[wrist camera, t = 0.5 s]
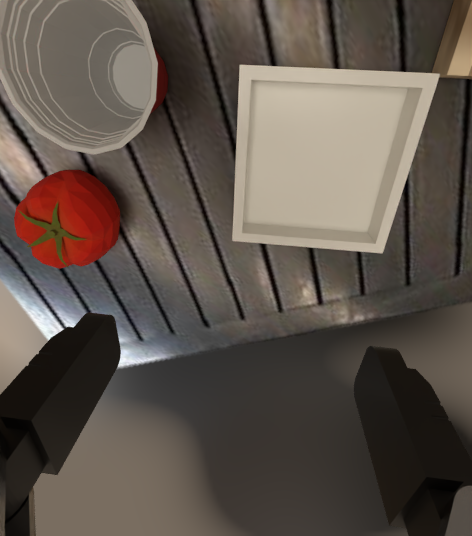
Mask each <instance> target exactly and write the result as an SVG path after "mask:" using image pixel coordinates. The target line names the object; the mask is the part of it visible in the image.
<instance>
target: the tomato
mask: <svg viewBox="0 0 472 536" xmlns="http://www.w3.org/2000/svg"><path fill="white" fill-rule="evenodd" d="M14 221H15V228H16V232H17V236H18V237H20V238H21V239H22V240H24V241H25V242H27V243H28V244H29V246H27V247H31V248H32V254H33V256H34V257H35V258H37V259H38V260H39V261H40V262H42V263H43V264H46V265H49V266H53V267H56V268H64V267H68V266H69V265H72V264H75V265H78V266H84V265H88V264H90V263H92V262H94V261H96V260H97V259H99V258H101V257H102V256H103V255H105V254H106V253H107V252H108V251H109V250H110V249H111V248H112V247H113V246H114V245H115V243H116V241H117V240H118V235H119V226H120V210H119V207H118V205H117V203H116V201H115V198H114V197H113V195H112V194H111V193H110V191H109V190H108V189H107V188H106V186H105V185H104V184H103V183H102V182H100V181H99V180H98V179H97V178H96V177H94V176H92V175H90V174H88V173H86V172H84V171H81V170H63V171H59V172H57V173H54V174H52V175H50V176H48V177H46V178H44V179H42V180H41V181H39V182H38V183H37V184H35V185H34V186H33V187H32V188H31V189H30V191H29V192H28V193H27V197H26V198H25V199H23V200H22V201H21V202H20V204H19V205H18V206H17V208H16V213H15V217H14Z"/></svg>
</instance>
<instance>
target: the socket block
mask: <svg viewBox="0 0 472 536" xmlns="http://www.w3.org/2000/svg"><path fill="white" fill-rule="evenodd" d="M432 73H437V74H440V76H439V78H460V79H472V0H454V2H453V5H452V8H451V12H450V15H449V18H448V21H447V25H446V28H445V31H444V34H443V38H442V41H441V44H440V47H439V51H438V54H437V57H436V60H435V63H434V67H433V70H432Z"/></svg>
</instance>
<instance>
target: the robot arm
mask: <svg viewBox="0 0 472 536" xmlns="http://www.w3.org/2000/svg"><path fill="white" fill-rule="evenodd" d="M120 354H121V350H120V344H119V338H118V333H117V328H116V322H115V318H114V317H113V316H112V315H105V314H97V313H86V314H85V315H84V316H83V317H82V318H81V320H80V321H79V322H78V323H77V324H76V326H75V327H74V328H73V327H67V328H66V329H64V330H62V331H61V332H59V333H58V334H56V335H55V336H53V337H52V338H51V339H50V340H49V341H48V342H47V343H46V344H45V345H44V346H43V348H42V349H41V350H40V351H39V354H36V356H35V357H34V358H33V359H32V360H31V361H30V362H29V365H28V366H26V367H25V368H24V369H23V370H22V371H21V372H20V373H19V374H18V376H17V377H16V378H15V379H14V380H13V381H12V382H11V384H10V385H9V386H8V387H7V388H6V389H5V390H4V391H3V392H2V394H1V395H0V536H36V526H35V500H34V488H33V486H34V484H35V483H36V481H37V479H38V478H39V476H40V474H41V473H47V474H54V475H57V474H58V473H59V471H60V469H61V467H62V466H63V464H64V462H65V460H66V458H67V457H68V455H69V453H70V451H71V450H72V448H73V446H74V444H75V442H76V441H77V439H78V437H79V435H80V433H81V431H82V430H83V428H84V426H85V424H86V423H87V421H88V419H89V417H90V415H91V414H92V412H93V410H94V408H95V407H96V404H97V403H98V401H99V399H100V397H101V396H102V394H103V392H104V390H105V389H106V387H107V385H108V383H109V381H110V380H111V378H112V376H113V374H114V372H115V370H116V369H117V367H118V364H119V360H120ZM354 397H355V402H356V405H357V409H358V413H359V416H360V420H361V424H362V427H363V431H364V435H365V438H366V442H367V446H368V449H369V453H370V457H371V460H372V464H373V468H374V471H375V475H376V479H377V483H378V486H379V490H380V494H381V497H382V501H383V505H384V508H385V512H386V516H387V519H388V523H389V526H395V527H401V528H406V529H407V532H408V535H409V536H472V460H471V458H470V456H469V454H468V452H467V450H466V449H465V447H464V445H463V443H462V441H461V439H460V438H459V436H458V434H457V432H456V430H455V429H454V427H453V425H452V423H451V421H449V420H448V416H447V414H446V412H445V410H444V408H443V407H442V406H441V405H440V401H439V399H438V397H437V395H436V394H435V392H434V390H433V388H432V386H431V385H430V384H429V383H428V382H427V381H426V379H424V377H423V376H422V375H421V374H420V373H419V372H418V371H417V370H416V369H410V368H407V366H406V364H405V362H404V360H403V358H402V356H401V354H400V352H399V351H398V350H397V349H392V348H384V347H375V346H370V347H368V348H367V350H366V353H365V355H364V358H363V360H362V363H361V365H360V368H359V370H358V373H357V376H356V378H355V382H354Z"/></svg>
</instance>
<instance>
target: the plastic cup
mask: <svg viewBox="0 0 472 536" xmlns="http://www.w3.org/2000/svg"><path fill="white" fill-rule="evenodd" d="M0 79H1V81H2V83H3V85H4V88H5V90H6V92H7V94H8V96H9V98H10V100H11V102H12V104H13V105H14V106H15V108H16V109H17V110H18V111H19V112H20V113H21V114H22V115H23V117H24V118H25V119H26V120H27V121H28V122H29V123H30V125H31V126H32V127H33V128H34V129H35V130H36V131H37V132H38V133H40V134H41V135H43V136H45V137H46V138H48V139H50V140H51V141H53V142H55V143H56V144H58V145H60V146H61V147H63V148H65V149H68V150H73V151H79V152H84V153H89V154H94V155H95V154H99V153H103V152H107V151H111V150H115V149H119V148H122V147H123V146H124V145H125V144H126V143H128V142H129V141H130V140H131V139H132V138H133V137H135V136H136V135H137V134H138V133H139V132H140V131H142V130H143V128H144V126H145V123H146V121H147V119H148V117H149V115H150V114H151V113H152V112H153V111H154V110H155V109H157V108H158V106H159V105H160V104H162V103H163V100H164V98H165V96H166V93H167V91H168V74H167V71H166V67H165V64H164V61H163V60H162V58H161V57H160V55H159V54H158V52H157V51H156V50H155V48H154V47H153V44H152V40H151V37H150V33H149V30H148V26H147V22H146V21H145V19H144V18H143V16H142V15H141V13H140V12H139V10H138V9H137V7H136V6H135V4H134V3H133V1H132V0H0Z"/></svg>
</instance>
